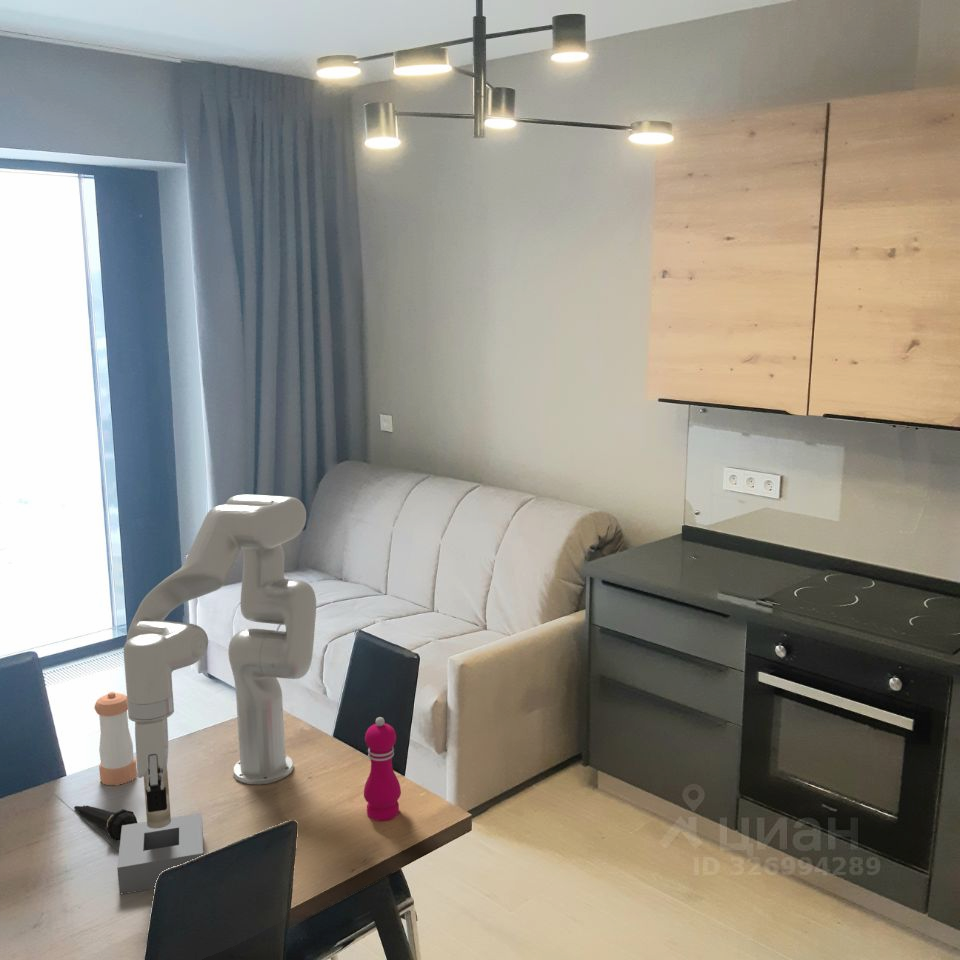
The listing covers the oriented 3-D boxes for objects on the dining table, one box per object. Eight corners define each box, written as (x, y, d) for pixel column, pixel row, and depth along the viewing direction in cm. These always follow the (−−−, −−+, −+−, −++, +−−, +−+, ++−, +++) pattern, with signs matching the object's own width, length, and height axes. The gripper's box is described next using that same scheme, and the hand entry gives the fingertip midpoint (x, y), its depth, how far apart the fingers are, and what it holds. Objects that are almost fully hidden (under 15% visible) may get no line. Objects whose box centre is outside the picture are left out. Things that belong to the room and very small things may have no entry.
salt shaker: (137, 781, 201) (130, 696, 197) (100, 788, 198) (92, 702, 195) (135, 766, 207) (129, 683, 204) (100, 773, 205) (92, 689, 201)
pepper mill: (395, 824, 183) (392, 726, 180) (359, 820, 185) (355, 724, 181) (405, 805, 190) (403, 711, 187) (371, 801, 192) (367, 708, 188)
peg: (147, 818, 170) (142, 756, 168) (171, 815, 172) (166, 752, 170) (146, 830, 167) (142, 766, 165) (170, 826, 168) (166, 762, 166)
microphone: (70, 828, 189) (124, 850, 177) (57, 805, 187) (111, 826, 175) (93, 809, 193) (148, 829, 180) (80, 786, 191) (135, 806, 179)
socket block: (124, 850, 175) (122, 825, 175) (203, 837, 180) (201, 812, 179) (119, 894, 162) (117, 867, 161) (205, 879, 166) (203, 853, 165)
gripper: (130, 690, 172) (137, 785, 175) (125, 728, 156) (133, 831, 160) (173, 685, 174) (180, 779, 177) (173, 722, 159) (179, 824, 162)
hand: (157, 802), depth 168 cm, fingers closed on peg, 4 cm apart
